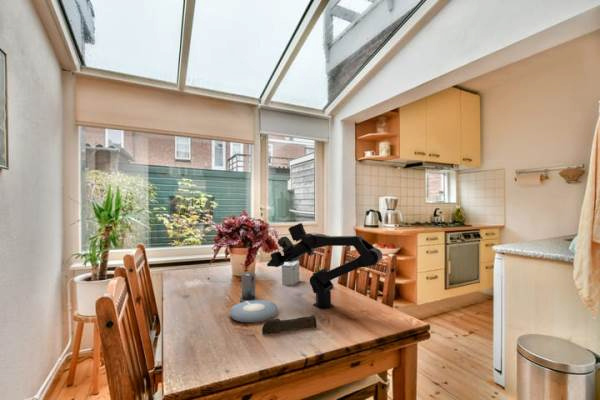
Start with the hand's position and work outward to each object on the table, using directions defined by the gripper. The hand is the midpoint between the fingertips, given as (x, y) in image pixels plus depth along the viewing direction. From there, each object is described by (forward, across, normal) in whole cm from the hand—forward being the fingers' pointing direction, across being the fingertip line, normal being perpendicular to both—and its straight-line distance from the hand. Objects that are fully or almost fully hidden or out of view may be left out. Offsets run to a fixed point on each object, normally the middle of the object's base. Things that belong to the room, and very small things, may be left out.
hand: (273, 263), depth 132 cm
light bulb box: (+12, -23, +12) cm, 28 cm away
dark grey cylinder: (+13, +10, +11) cm, 20 cm away
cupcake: (-4, -23, +20) cm, 30 cm away
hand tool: (-15, +26, +26) cm, 40 cm away
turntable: (+2, +21, +16) cm, 27 cm away
